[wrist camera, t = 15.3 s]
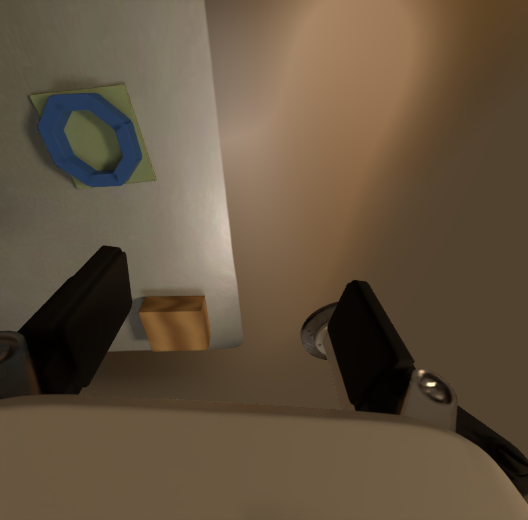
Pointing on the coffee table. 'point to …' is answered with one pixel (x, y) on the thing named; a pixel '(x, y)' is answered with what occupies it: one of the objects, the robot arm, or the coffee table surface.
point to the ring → (60, 147)
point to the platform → (176, 323)
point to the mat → (100, 134)
